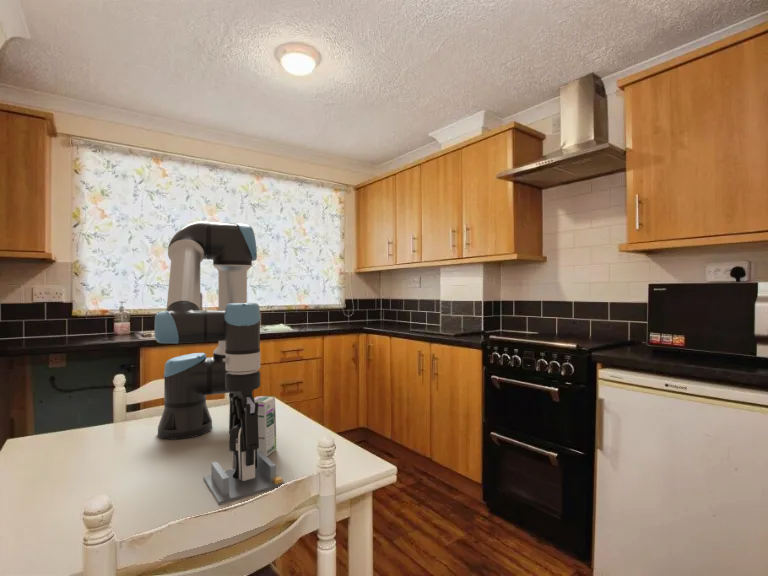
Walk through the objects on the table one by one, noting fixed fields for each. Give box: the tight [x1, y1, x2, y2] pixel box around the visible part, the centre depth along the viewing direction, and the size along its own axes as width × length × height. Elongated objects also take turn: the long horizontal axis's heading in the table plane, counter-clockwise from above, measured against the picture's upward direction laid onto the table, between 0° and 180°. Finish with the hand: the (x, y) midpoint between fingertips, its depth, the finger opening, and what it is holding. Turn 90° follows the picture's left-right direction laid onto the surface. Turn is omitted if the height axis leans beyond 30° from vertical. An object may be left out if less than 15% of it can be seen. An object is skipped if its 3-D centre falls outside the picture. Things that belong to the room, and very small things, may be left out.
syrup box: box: [254, 395, 277, 458], centre depth 110 cm, size 6×6×14 cm
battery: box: [228, 423, 257, 479], centre depth 94 cm, size 7×4×11 cm, turn 170°
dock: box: [202, 451, 286, 505], centre depth 93 cm, size 14×14×4 cm
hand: (243, 472), depth 93 cm, fingers closed on battery, 7 cm apart
